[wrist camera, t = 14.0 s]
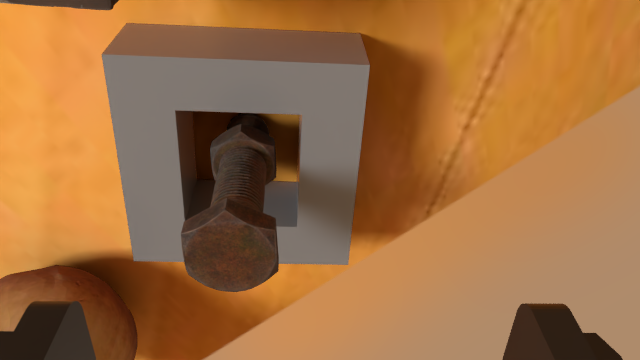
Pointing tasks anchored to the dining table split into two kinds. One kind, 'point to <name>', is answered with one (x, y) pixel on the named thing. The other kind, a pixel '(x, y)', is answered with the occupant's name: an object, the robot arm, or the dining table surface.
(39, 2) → the coffee box
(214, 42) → the socket block
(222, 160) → the bolt
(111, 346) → the butternut squash
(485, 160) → the dining table surface
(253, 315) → the dining table surface
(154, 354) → the dining table surface
